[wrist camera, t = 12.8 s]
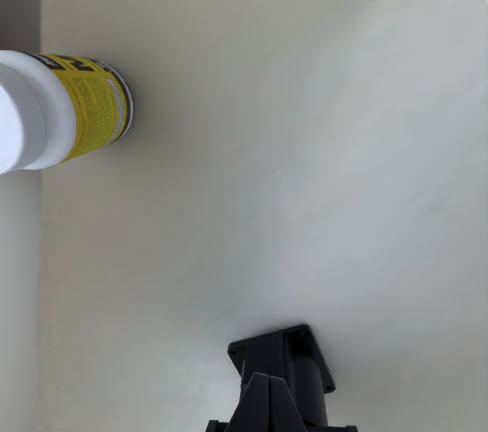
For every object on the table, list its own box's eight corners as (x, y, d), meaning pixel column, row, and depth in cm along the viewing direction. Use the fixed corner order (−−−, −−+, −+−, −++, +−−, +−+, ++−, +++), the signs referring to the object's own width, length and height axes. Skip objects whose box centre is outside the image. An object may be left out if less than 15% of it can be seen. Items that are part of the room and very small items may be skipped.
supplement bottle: (126, 54, 18) (9, 38, 10) (142, 142, 20) (53, 185, 12) (44, 60, 18) (-125, 50, 11) (67, 145, 20) (-64, 189, 12)
